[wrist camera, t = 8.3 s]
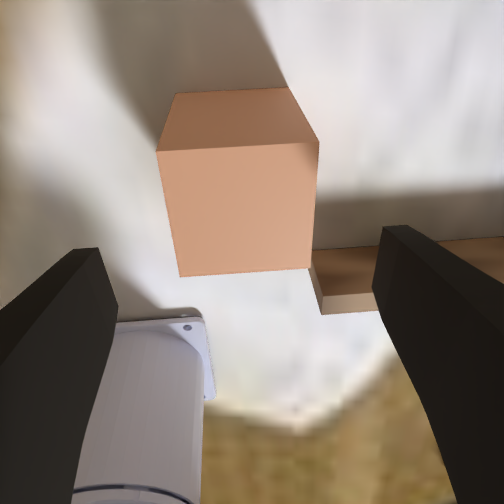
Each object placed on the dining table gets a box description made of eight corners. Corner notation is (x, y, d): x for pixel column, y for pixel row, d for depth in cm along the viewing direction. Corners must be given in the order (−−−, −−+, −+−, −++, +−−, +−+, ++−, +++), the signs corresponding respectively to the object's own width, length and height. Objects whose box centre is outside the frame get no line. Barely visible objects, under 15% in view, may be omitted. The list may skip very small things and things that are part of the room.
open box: (307, 268, 21) (321, 314, 18) (328, -77, 12) (360, -88, 10) (543, 250, 22) (591, 293, 19) (721, -96, 13) (860, -113, 10)
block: (190, 193, 18) (180, 277, 13) (175, 93, 15) (155, 151, 11) (286, 188, 18) (310, 267, 13) (288, 87, 15) (319, 141, 11)
